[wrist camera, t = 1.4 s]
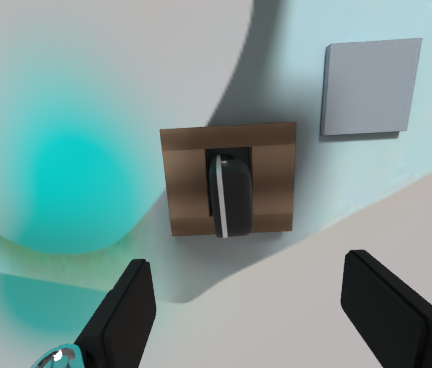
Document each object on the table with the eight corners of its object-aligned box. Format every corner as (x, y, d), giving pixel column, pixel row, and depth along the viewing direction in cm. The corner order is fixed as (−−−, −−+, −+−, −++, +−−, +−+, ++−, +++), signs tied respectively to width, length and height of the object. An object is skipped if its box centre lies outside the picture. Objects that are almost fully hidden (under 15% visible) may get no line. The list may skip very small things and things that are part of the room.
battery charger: (244, 200, 30) (259, 243, 19) (217, 202, 30) (216, 247, 19) (240, 150, 28) (254, 165, 17) (211, 153, 28) (207, 170, 17)
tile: (326, 46, 25) (331, 43, 24) (414, 41, 25) (422, 37, 24) (320, 134, 28) (324, 135, 27) (400, 130, 27) (406, 130, 26)
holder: (165, 129, 28) (159, 129, 25) (288, 122, 27) (296, 121, 24) (176, 225, 31) (172, 236, 28) (285, 221, 31) (291, 230, 28)
